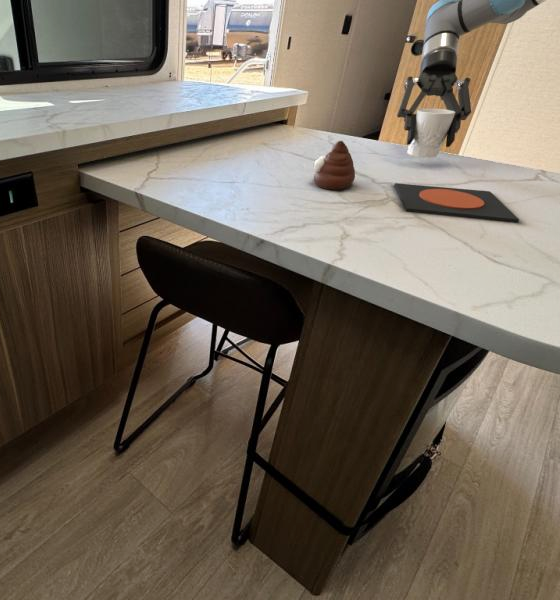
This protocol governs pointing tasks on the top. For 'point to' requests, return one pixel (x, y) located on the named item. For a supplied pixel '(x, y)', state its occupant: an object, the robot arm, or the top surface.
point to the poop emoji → (335, 168)
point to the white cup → (430, 132)
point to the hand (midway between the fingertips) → (429, 142)
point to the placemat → (453, 202)
